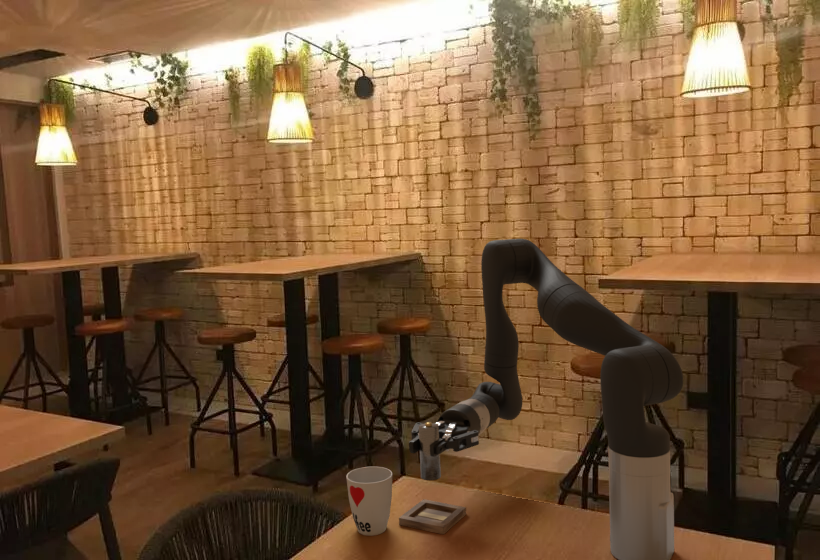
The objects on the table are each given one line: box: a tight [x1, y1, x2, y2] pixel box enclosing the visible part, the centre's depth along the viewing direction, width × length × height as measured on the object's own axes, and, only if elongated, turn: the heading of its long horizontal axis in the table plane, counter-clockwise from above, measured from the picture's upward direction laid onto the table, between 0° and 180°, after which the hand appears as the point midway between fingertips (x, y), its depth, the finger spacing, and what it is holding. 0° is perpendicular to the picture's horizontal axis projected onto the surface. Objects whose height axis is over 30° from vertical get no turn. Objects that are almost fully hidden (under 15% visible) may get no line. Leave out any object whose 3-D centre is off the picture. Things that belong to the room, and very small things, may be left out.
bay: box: [398, 498, 467, 535], centre depth 126 cm, size 9×9×1 cm
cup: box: [345, 466, 393, 536], centre depth 122 cm, size 8×8×10 cm
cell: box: [419, 421, 442, 481], centre depth 125 cm, size 4×4×10 cm
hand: (421, 449), depth 122 cm, fingers closed on cell, 3 cm apart
